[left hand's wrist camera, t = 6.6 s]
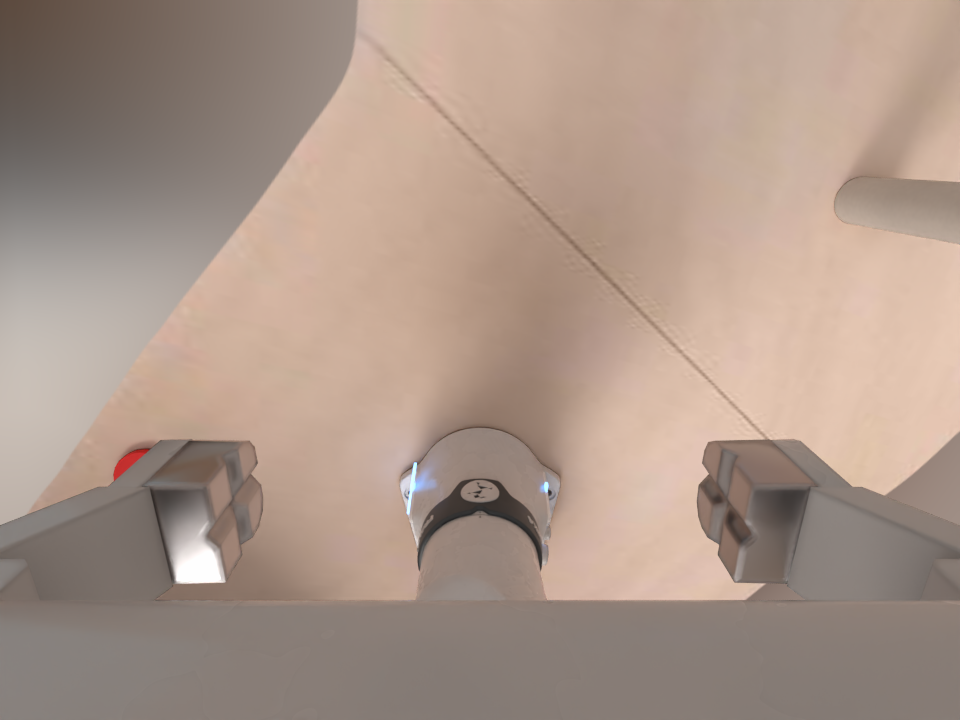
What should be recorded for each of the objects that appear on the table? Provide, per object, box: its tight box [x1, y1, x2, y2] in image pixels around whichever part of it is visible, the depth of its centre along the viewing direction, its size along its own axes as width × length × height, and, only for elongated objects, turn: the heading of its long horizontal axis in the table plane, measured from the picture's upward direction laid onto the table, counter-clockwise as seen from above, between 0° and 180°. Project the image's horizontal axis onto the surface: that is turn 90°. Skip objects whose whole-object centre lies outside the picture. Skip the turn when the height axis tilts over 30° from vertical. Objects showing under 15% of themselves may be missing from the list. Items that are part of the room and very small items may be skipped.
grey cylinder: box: [834, 177, 960, 244], centre depth 46 cm, size 4×4×18 cm
